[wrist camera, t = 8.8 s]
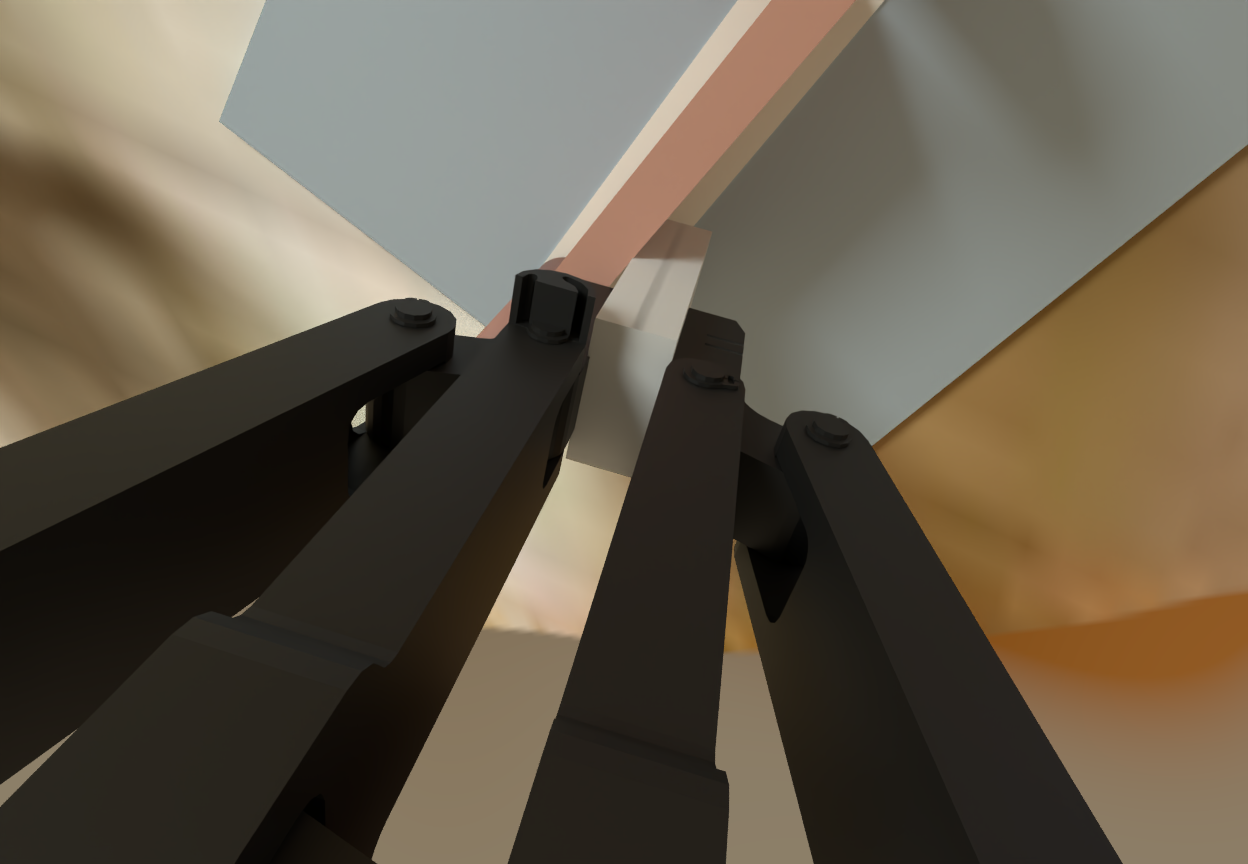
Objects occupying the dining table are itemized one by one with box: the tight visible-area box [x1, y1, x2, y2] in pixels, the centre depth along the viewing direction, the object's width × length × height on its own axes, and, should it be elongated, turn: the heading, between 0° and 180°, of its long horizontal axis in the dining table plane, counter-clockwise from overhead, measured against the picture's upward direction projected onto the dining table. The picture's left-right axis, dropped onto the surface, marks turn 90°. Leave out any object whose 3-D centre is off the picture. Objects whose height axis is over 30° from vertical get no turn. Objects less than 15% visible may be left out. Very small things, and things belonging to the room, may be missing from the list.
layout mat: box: [219, 0, 1248, 446], centre depth 16 cm, size 19×18×1 cm
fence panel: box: [476, 0, 856, 339], centre depth 15 cm, size 10×2×6 cm, turn 140°
